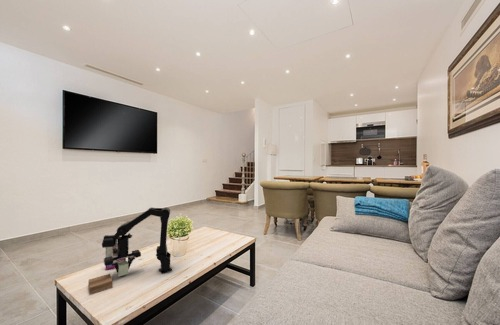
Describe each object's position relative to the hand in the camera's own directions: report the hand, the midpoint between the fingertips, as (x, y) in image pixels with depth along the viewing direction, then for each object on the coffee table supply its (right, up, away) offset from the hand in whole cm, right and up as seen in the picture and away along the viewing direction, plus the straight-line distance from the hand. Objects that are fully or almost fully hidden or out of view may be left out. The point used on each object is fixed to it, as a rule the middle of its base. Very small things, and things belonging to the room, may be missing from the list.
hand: (122, 271), depth 126 cm
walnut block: (-5, -3, -11) cm, 13 cm away
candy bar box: (-11, -3, +11) cm, 16 cm away
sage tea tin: (0, -1, 0) cm, 1 cm away
